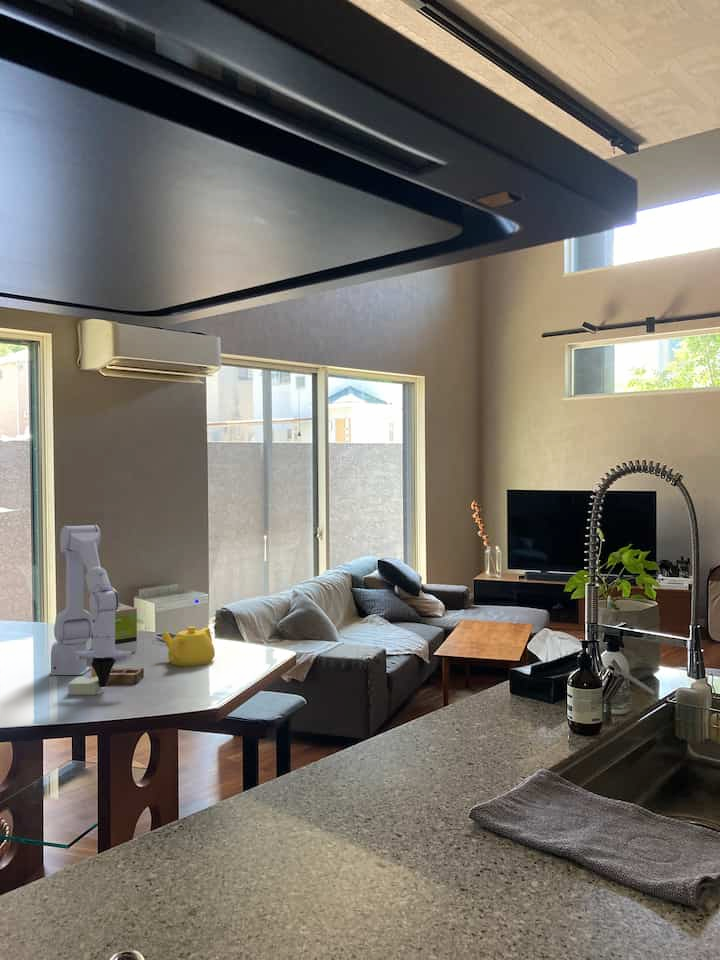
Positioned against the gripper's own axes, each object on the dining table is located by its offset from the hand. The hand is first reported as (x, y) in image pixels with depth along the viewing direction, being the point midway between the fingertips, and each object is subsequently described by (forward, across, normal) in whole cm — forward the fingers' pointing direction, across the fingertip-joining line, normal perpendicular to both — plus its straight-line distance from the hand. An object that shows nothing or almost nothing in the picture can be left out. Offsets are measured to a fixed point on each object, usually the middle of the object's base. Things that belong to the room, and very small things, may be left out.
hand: (103, 686), depth 203 cm
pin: (+1, -4, +6) cm, 8 cm away
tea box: (+2, -12, +48) cm, 49 cm away
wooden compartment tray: (+1, +2, +11) cm, 11 cm away
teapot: (+2, +15, +33) cm, 37 cm away
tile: (+1, -3, 0) cm, 3 cm away
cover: (+1, -5, 0) cm, 5 cm away
